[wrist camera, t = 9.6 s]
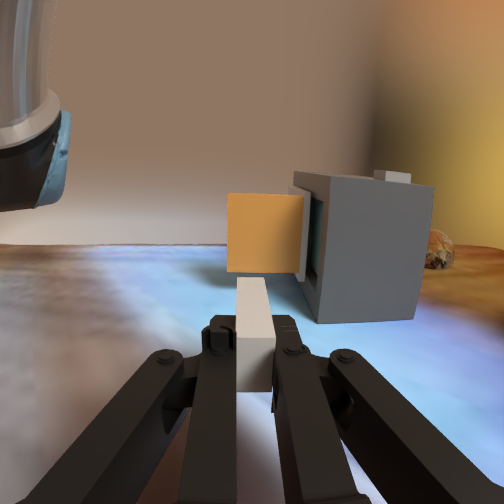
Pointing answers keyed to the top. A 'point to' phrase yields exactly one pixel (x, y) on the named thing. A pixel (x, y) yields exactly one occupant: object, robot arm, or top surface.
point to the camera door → (268, 232)
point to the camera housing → (365, 245)
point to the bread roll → (439, 251)
